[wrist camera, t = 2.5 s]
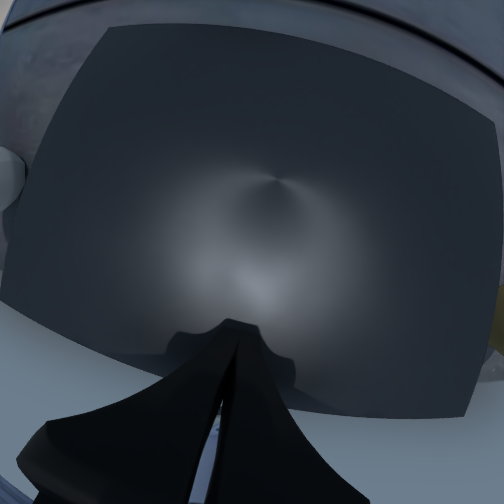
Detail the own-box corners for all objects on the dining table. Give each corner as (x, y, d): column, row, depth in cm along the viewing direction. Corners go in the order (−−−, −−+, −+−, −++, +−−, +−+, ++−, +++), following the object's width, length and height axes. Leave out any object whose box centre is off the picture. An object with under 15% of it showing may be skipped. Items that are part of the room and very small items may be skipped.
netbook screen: (455, 412, 11) (464, 417, 10) (8, 299, 12) (-2, 299, 11) (487, 127, 13) (494, 122, 12) (113, 35, 14) (109, 26, 13)
